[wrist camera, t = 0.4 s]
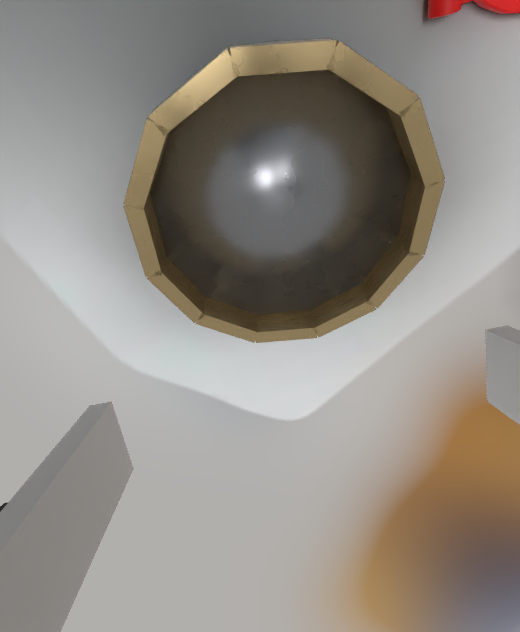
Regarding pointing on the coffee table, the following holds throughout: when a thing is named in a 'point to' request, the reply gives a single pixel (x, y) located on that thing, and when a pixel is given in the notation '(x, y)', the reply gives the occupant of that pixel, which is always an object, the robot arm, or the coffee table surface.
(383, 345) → the coffee table surface
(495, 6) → the tow hook
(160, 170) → the wooden rimmed bowl
